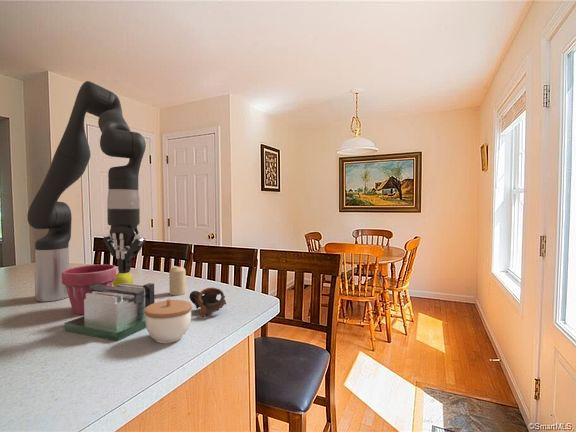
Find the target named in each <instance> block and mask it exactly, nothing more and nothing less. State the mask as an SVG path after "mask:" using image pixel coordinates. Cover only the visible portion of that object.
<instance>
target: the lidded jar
mask: <svg viewBox="0 0 576 432" xmlns="http://www.w3.org/2000/svg"><path fill="white" fill-rule="evenodd" d="M192 304H193V303H192V302H190V301H187V300H183V299H182V300H181V299H171V298H168V299H166V300H162V301H157V302H154V303H153V304H151V305H149V306H147V307H146V308H145V322H146V327H147V328H146V330H147V332H148V334H149V336H151V338H152V339H154V340H155V342H157V343H160V344H169V343H175V342H177V341H180V340H181V339H182V338H183V335H185V334H186V332H187V331H188V330H189V328H190V325H191V322H192V321H191V320H192V309H193V305H192Z"/></svg>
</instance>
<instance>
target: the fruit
mask: <svg viewBox="0 0 576 432" xmlns="http://www.w3.org/2000/svg"><path fill="white" fill-rule="evenodd" d="M122 283H128V284H134V276H133V275H132V274H131V273H130V272H128V273H119V271H118V272H117V273H116V278H115V279H114V280H113V284H112V286H115V287H117V285H122Z"/></svg>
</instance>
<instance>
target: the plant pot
mask: <svg viewBox="0 0 576 432" xmlns="http://www.w3.org/2000/svg"><path fill="white" fill-rule="evenodd" d="M116 275H117V268H116V265H114V264H108V263H107V264H106V263H105V264H89V265H80V266H74V267H69V269H66V270H63V271H62V284H63V285H66V289H67V293H68V296H69V297H68V299H69V303H70V305H71V306H70V307H71V310H72V313H74V314H76V315H84V299H86V293H88V291H89V290H91V289H90V286H93V285H97V284H101V285H107V286H113V280H114V279H115V278H116ZM103 292H104V293H107V292H105V291H103Z"/></svg>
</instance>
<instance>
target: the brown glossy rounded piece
mask: <svg viewBox="0 0 576 432" xmlns="http://www.w3.org/2000/svg"><path fill="white" fill-rule="evenodd" d="M218 295H220V299H217V296H218ZM188 297H189V300H190V301H191V303H192V304H193V305H194V306H195V308H196V309H197V310H198V309H199V316H201V317H202V318H204V317H206V315H210V314H212V313H215V312H218V311H220V309H222V308H223V307H224V306H225V305H227V301H226V299H225V298H226V296H225V295H224V291H222V289H220V288H217V287H207V288H204V289H202V290H201V291H197V290H192V291H191V292H190V293H189V296H188Z"/></svg>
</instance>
